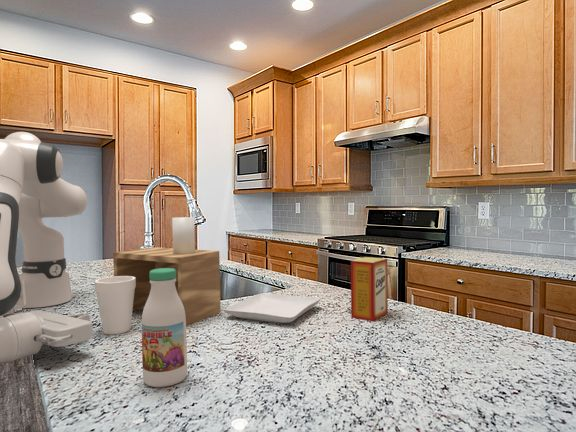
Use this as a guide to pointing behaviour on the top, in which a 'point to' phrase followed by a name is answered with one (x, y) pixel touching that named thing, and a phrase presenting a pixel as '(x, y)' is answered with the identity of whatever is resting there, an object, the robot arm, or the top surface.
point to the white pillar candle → (183, 235)
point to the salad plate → (272, 307)
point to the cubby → (189, 277)
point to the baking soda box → (369, 288)
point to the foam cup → (115, 302)
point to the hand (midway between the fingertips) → (86, 317)
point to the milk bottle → (163, 332)
